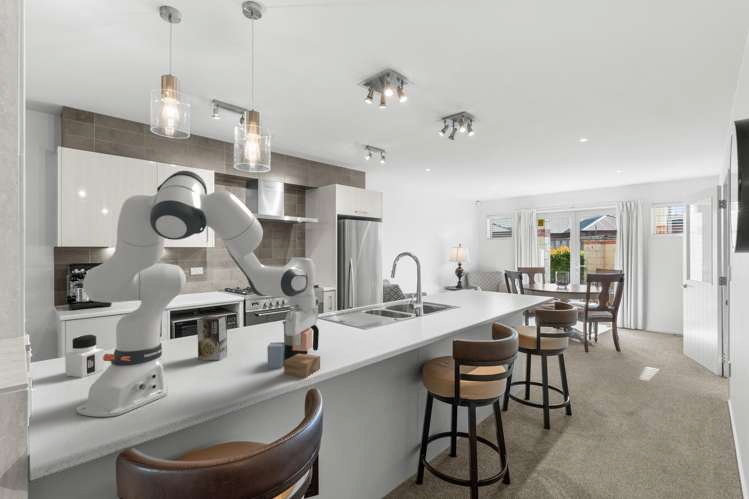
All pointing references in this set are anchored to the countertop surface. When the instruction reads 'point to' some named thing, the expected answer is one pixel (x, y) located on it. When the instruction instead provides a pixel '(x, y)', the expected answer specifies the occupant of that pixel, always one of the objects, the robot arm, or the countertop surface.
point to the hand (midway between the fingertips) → (302, 342)
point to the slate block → (276, 355)
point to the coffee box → (212, 337)
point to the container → (84, 357)
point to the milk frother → (289, 343)
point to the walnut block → (301, 365)
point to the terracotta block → (304, 341)
